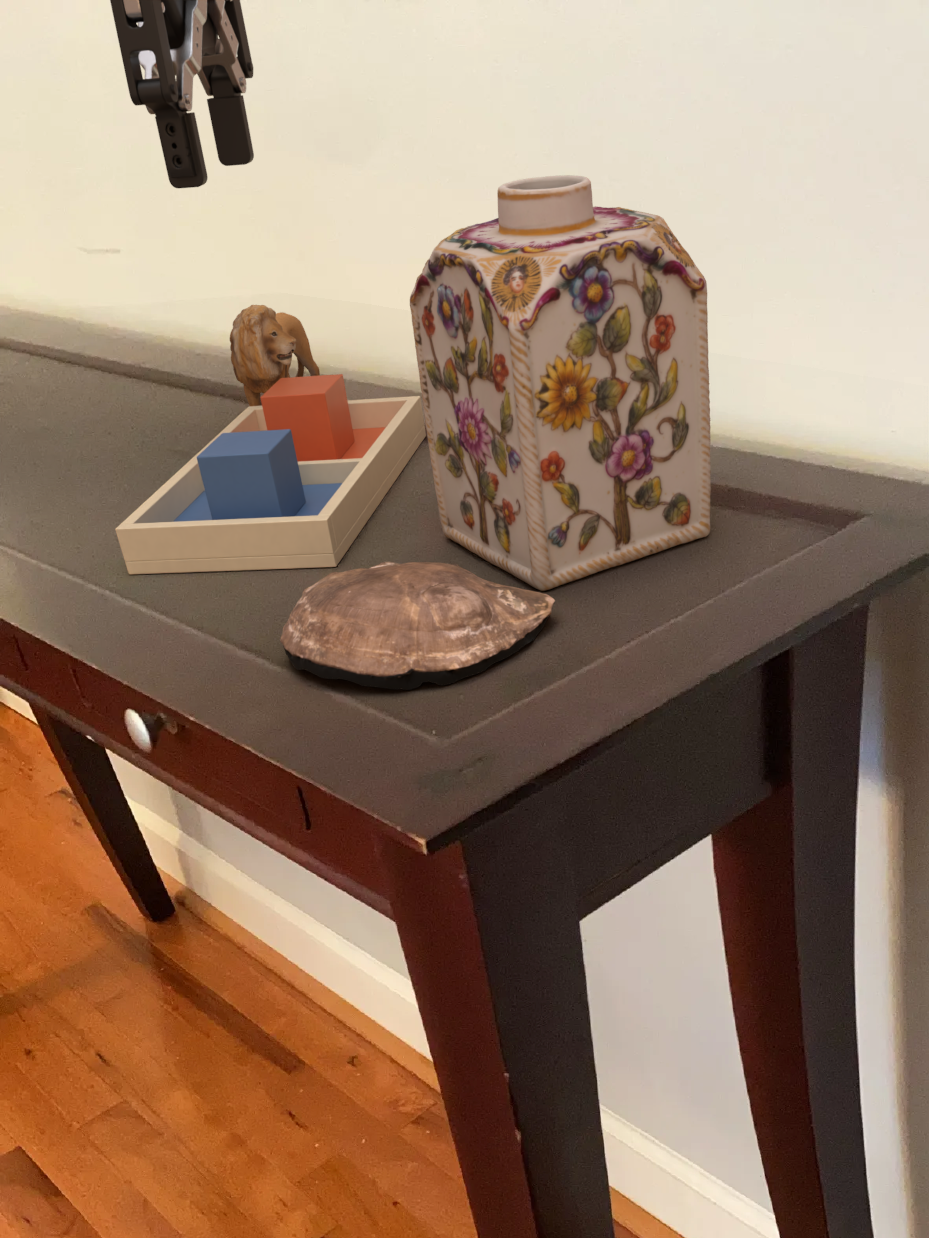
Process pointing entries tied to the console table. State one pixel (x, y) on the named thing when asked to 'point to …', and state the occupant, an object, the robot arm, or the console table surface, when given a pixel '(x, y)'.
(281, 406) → the terracotta block
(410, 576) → the shell
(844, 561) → the console table surface
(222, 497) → the blue block
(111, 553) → the console table surface
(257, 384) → the lion figurine
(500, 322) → the decorative jar
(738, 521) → the console table surface
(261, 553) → the sorting tray
